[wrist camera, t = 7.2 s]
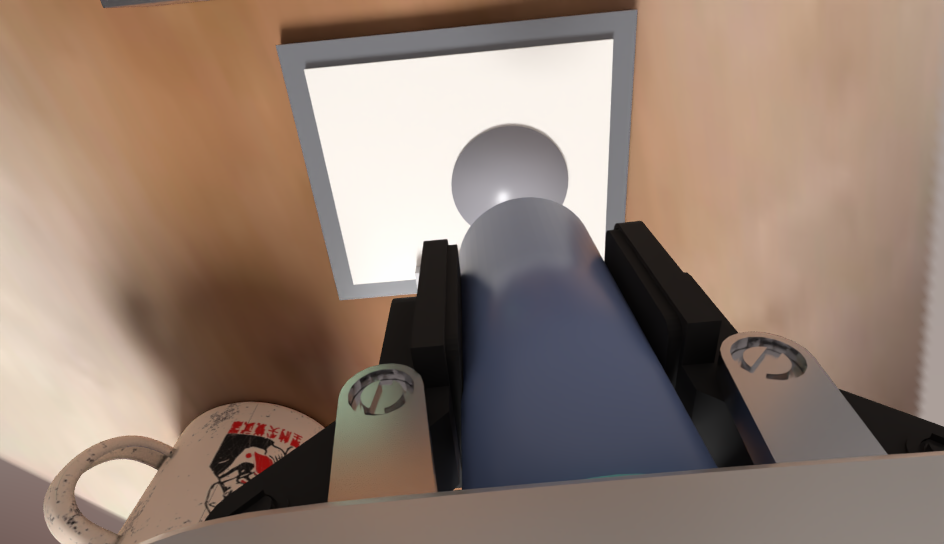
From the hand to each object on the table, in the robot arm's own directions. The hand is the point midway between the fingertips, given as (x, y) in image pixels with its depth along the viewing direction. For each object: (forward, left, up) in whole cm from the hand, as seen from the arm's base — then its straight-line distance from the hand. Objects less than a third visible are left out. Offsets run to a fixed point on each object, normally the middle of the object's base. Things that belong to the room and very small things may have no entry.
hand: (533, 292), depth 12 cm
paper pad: (+1, 0, -9) cm, 9 cm away
